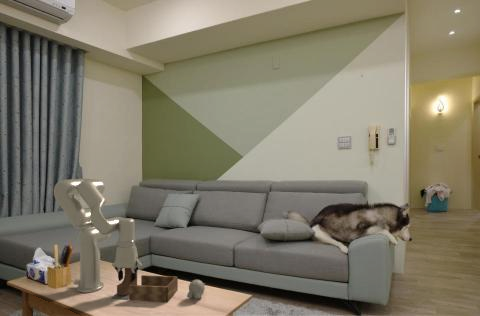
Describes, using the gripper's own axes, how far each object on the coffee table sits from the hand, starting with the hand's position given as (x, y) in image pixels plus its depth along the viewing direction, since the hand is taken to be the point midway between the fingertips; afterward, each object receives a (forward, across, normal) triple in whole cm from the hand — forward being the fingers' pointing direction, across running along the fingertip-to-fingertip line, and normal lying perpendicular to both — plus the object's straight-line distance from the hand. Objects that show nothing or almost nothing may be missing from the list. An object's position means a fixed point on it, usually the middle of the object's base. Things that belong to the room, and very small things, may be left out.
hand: (127, 279), depth 159 cm
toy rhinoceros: (+7, +36, 0) cm, 37 cm away
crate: (+7, +14, 0) cm, 16 cm away
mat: (+7, -1, 0) cm, 7 cm away
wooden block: (+7, 0, 0) cm, 7 cm away
